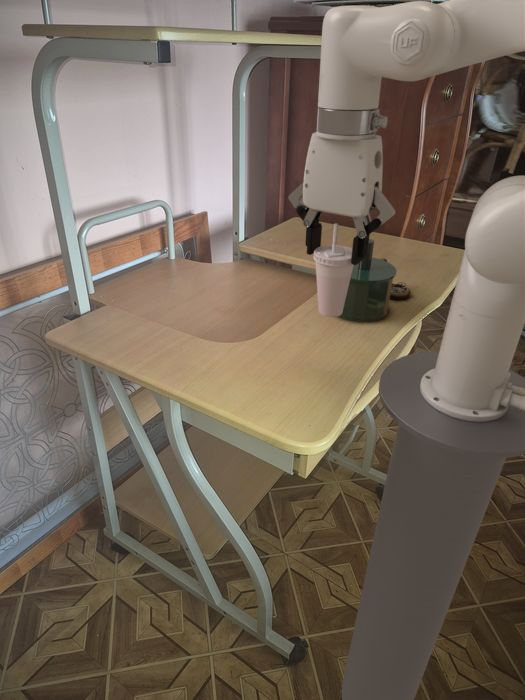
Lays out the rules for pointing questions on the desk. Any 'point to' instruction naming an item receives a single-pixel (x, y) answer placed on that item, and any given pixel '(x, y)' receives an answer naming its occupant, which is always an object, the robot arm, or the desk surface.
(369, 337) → the desk surface
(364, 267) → the lid
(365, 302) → the pot
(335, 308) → the smoothie
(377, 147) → the robot arm
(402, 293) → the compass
